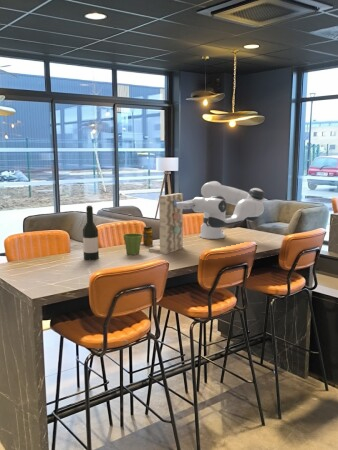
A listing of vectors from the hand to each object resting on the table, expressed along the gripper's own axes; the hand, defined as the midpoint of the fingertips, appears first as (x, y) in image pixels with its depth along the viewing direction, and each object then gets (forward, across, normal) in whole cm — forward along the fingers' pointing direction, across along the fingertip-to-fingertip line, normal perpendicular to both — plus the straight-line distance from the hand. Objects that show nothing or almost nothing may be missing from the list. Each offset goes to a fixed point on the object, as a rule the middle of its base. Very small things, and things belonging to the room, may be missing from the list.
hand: (177, 203), depth 259 cm
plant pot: (+19, -19, -29) cm, 40 cm away
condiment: (+26, +5, -29) cm, 40 cm away
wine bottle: (+33, -41, -29) cm, 60 cm away
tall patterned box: (+9, 0, -29) cm, 30 cm away
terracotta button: (+3, 0, -10) cm, 11 cm away
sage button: (+3, 0, -18) cm, 18 cm away
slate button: (+3, 0, -2) cm, 4 cm away
